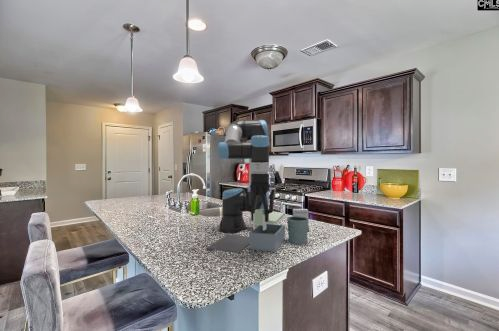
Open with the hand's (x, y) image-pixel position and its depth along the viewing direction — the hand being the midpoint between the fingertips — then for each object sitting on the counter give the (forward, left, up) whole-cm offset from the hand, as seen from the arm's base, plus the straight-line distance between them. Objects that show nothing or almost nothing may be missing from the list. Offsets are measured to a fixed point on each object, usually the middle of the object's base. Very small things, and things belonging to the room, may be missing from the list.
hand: (259, 228), depth 104 cm
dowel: (0, +16, -10) cm, 19 cm away
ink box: (+10, +45, -11) cm, 48 cm away
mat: (-16, +8, -11) cm, 21 cm away
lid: (0, +10, +1) cm, 10 cm away
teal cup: (+12, +21, -11) cm, 27 cm away
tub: (0, +12, -11) cm, 17 cm away
